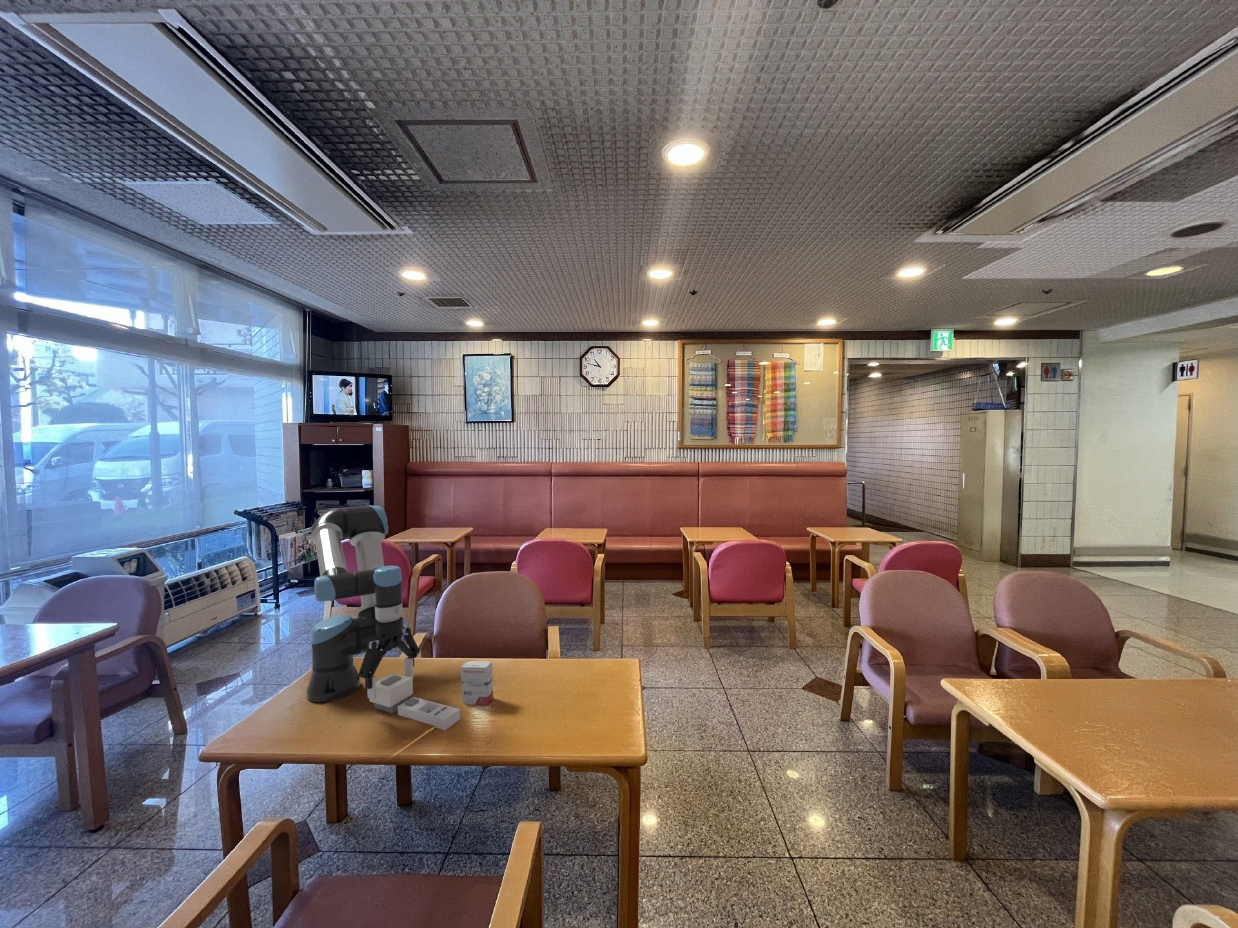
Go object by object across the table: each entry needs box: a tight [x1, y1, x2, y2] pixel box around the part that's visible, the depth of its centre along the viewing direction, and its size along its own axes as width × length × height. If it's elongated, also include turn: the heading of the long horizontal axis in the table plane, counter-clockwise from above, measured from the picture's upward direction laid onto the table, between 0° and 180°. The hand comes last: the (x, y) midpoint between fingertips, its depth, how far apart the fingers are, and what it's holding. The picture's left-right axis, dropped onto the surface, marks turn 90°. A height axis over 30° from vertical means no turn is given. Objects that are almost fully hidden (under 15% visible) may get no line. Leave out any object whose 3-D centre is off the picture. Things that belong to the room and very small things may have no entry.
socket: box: [397, 696, 461, 731], centre depth 144 cm, size 18×6×4 cm, turn 66°
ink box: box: [460, 660, 494, 706], centre depth 153 cm, size 9×5×12 cm, turn 84°
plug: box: [368, 672, 414, 707], centre depth 150 cm, size 8×8×8 cm
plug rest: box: [373, 696, 410, 714], centre depth 150 cm, size 8×6×3 cm
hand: (391, 687), depth 150 cm, fingers open, 13 cm apart
